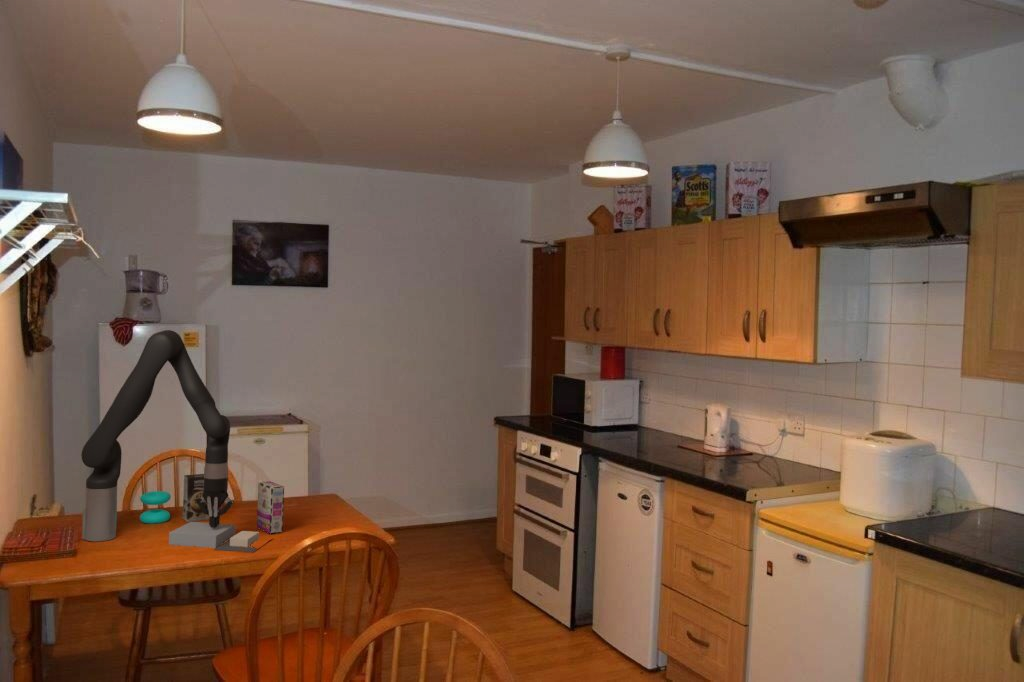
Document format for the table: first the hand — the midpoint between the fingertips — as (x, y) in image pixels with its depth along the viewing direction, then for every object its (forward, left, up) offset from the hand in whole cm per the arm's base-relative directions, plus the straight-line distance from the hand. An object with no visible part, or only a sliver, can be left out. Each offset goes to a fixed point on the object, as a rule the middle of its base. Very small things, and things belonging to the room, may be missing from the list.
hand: (214, 527), depth 264 cm
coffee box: (-19, +25, -5) cm, 32 cm away
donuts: (-32, +19, -5) cm, 38 cm away
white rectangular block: (+11, 0, -3) cm, 11 cm away
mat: (+11, -1, -5) cm, 12 cm away
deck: (-4, 0, -5) cm, 6 cm away
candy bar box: (+12, +17, -5) cm, 21 cm away
